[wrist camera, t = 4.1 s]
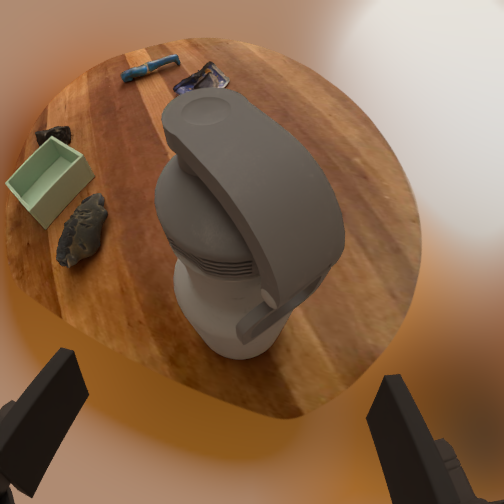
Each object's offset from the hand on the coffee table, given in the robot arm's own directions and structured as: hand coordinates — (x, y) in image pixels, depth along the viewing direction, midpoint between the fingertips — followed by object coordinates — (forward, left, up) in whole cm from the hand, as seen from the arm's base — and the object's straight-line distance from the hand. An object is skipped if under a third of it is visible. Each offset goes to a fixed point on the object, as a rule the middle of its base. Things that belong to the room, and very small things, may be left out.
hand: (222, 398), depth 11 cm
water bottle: (+7, +4, -23) cm, 24 cm away
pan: (+7, +45, -23) cm, 51 cm away
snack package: (+41, +37, -23) cm, 60 cm away
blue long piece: (+43, +56, -23) cm, 74 cm away
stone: (+5, +30, -23) cm, 38 cm away
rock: (+14, +57, -23) cm, 63 cm away
